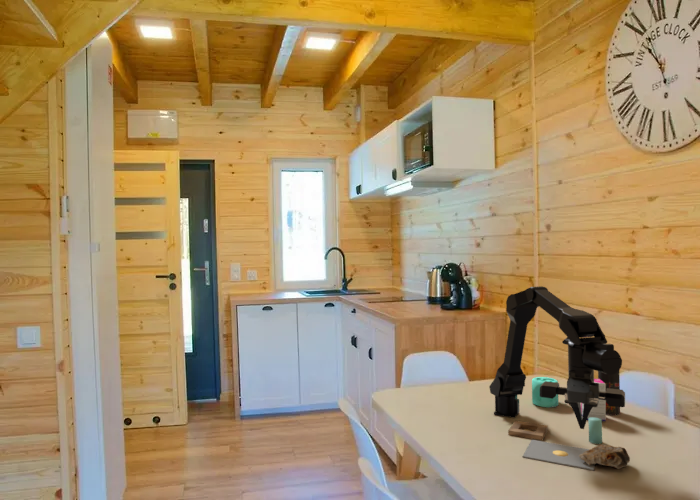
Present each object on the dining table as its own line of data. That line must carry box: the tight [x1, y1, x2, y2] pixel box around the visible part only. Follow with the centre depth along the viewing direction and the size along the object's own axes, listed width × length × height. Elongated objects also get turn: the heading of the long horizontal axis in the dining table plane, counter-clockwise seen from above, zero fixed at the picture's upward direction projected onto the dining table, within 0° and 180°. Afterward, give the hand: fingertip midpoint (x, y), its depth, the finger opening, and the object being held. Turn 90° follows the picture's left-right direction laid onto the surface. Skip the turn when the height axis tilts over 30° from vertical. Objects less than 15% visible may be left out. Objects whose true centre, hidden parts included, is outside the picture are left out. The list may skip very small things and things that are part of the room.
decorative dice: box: [531, 376, 559, 408], centre depth 164 cm, size 8×8×8 cm
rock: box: [579, 444, 631, 470], centre depth 118 cm, size 9×6×10 cm
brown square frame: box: [507, 420, 549, 441], centre depth 139 cm, size 9×9×1 cm
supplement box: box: [580, 378, 607, 422], centre depth 150 cm, size 6×6×12 cm
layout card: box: [522, 439, 596, 471], centre depth 124 cm, size 16×12×1 cm
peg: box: [588, 417, 603, 445], centre depth 132 cm, size 3×3×6 cm
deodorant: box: [597, 370, 621, 416], centre depth 155 cm, size 6×6×15 cm
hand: (582, 428), depth 121 cm, fingers closed
